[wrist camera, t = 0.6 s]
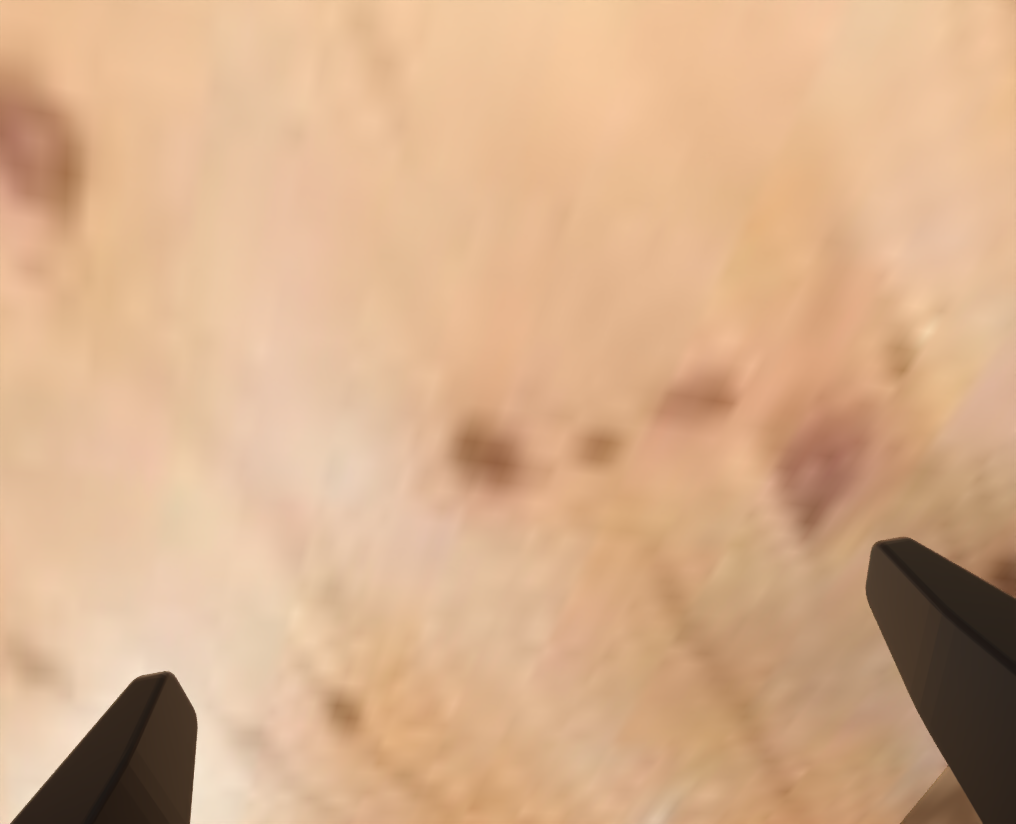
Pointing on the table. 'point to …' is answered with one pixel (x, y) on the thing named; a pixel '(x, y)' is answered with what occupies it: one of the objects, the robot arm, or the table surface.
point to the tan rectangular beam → (943, 804)
